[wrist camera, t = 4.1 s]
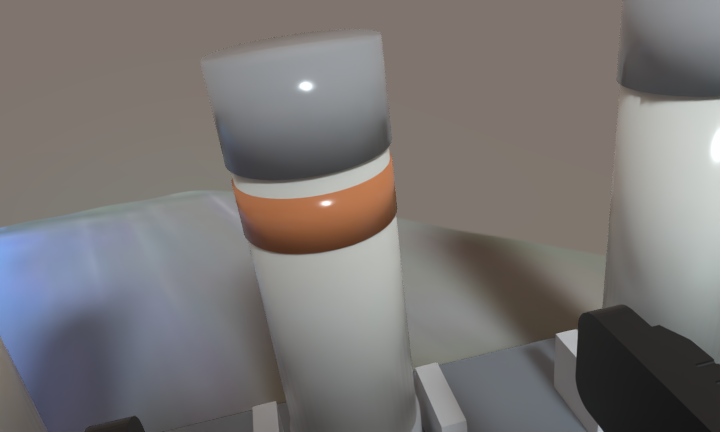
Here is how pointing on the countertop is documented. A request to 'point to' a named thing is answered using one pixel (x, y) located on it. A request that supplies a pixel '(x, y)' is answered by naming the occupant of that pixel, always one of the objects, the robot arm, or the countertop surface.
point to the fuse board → (472, 395)
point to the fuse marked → (321, 221)
